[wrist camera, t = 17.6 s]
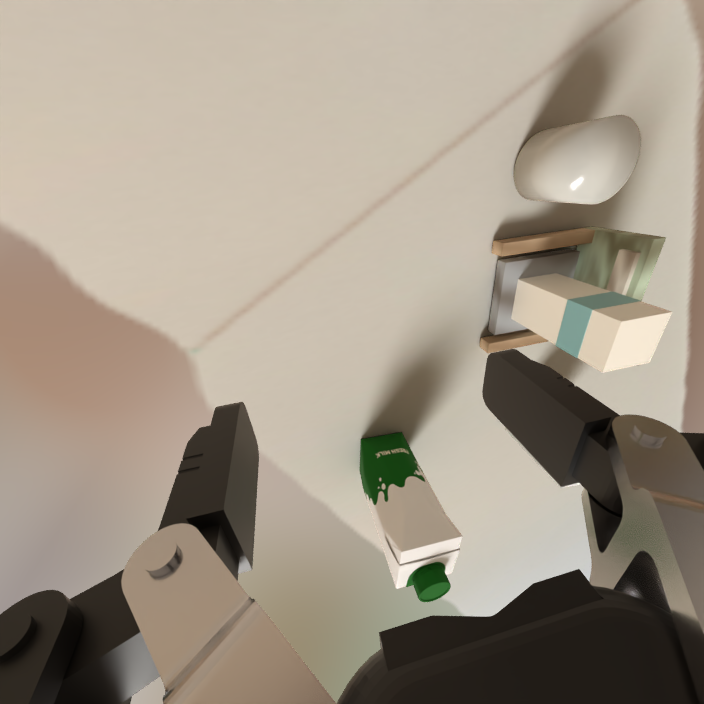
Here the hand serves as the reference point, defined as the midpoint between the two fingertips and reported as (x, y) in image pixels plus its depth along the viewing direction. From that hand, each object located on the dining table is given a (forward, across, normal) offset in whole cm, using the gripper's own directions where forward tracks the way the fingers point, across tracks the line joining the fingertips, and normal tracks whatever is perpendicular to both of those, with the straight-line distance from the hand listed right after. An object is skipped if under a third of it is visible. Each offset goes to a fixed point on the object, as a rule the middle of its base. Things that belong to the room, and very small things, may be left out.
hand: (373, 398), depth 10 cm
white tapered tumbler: (+28, -28, -5) cm, 40 cm away
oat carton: (+26, -29, +10) cm, 41 cm away
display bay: (+28, -30, +10) cm, 42 cm away
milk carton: (+28, -7, +34) cm, 45 cm away
